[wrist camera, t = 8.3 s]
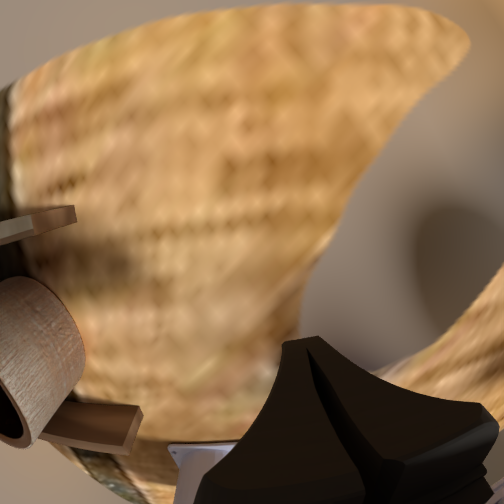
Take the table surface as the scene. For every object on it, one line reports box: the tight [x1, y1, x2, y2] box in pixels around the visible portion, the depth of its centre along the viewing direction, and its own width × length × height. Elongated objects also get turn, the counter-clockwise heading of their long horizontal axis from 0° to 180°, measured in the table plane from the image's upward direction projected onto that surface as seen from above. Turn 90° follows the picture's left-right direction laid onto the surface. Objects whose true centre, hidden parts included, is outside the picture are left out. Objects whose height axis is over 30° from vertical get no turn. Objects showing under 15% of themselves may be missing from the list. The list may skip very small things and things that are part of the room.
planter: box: [0, 276, 85, 449], centre depth 15 cm, size 11×11×10 cm
